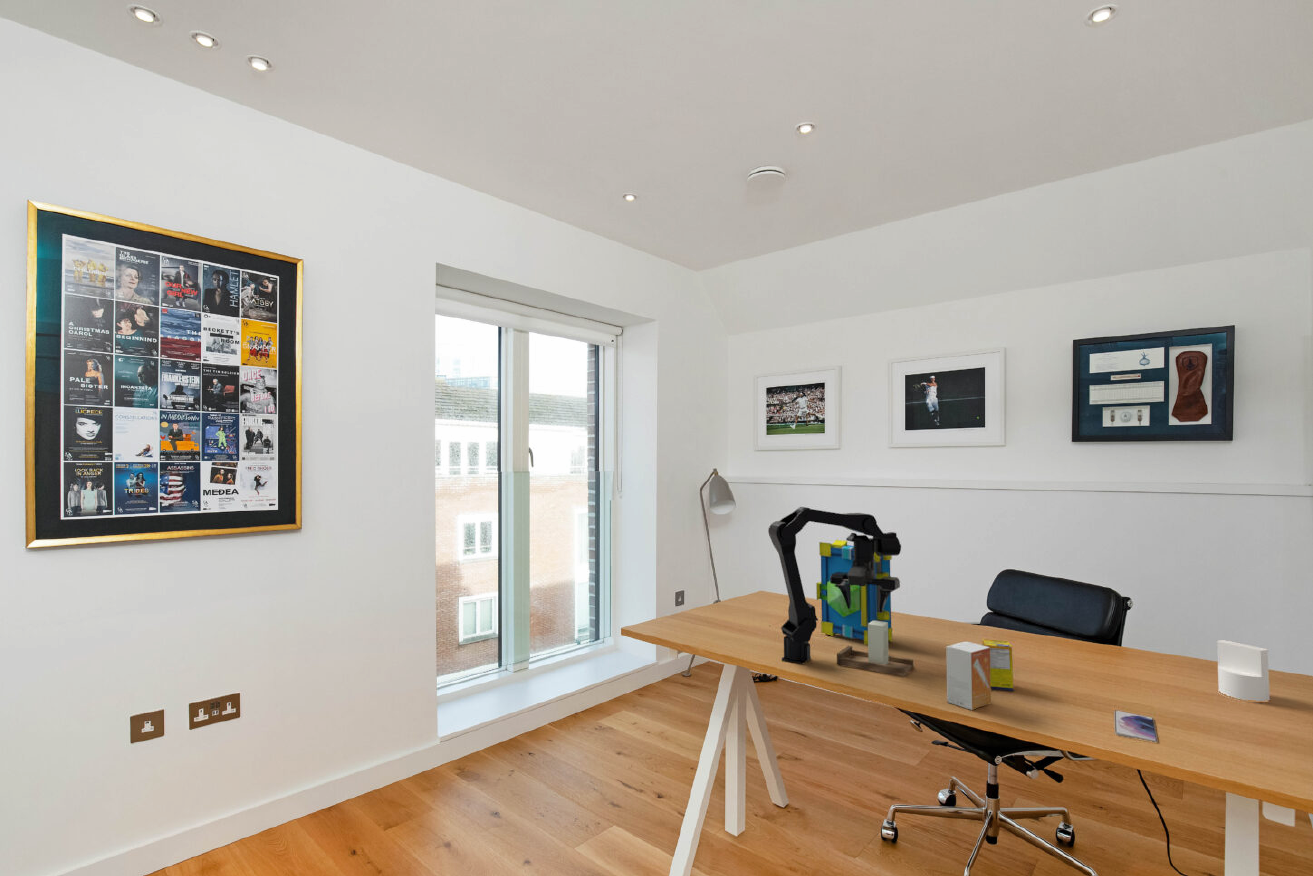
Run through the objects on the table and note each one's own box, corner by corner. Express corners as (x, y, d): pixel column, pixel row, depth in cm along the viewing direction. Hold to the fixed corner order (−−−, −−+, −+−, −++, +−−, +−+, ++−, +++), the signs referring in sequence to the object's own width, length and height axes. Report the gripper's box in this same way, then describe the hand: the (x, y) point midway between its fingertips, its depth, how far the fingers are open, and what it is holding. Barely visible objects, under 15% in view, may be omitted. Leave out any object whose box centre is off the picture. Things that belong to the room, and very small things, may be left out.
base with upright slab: (1210, 692, 154) (1208, 642, 155) (1231, 687, 158) (1229, 638, 159) (1257, 705, 146) (1255, 652, 147) (1278, 699, 150) (1275, 648, 150)
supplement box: (1009, 684, 161) (1007, 640, 161) (1013, 692, 155) (1012, 646, 156) (982, 681, 163) (981, 638, 163) (986, 689, 157) (985, 644, 158)
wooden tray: (836, 664, 177) (836, 653, 177) (848, 656, 185) (848, 645, 185) (904, 677, 166) (904, 665, 166) (913, 667, 174) (913, 656, 174)
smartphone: (1153, 717, 139) (1158, 742, 126) (1153, 721, 139) (1158, 746, 126) (1113, 709, 143) (1114, 732, 130) (1113, 713, 143) (1114, 737, 130)
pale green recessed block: (868, 664, 174) (867, 624, 174) (873, 660, 178) (872, 620, 179) (883, 667, 172) (882, 626, 172) (888, 662, 176) (888, 622, 176)
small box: (972, 711, 143) (971, 652, 144) (946, 702, 149) (945, 645, 149) (992, 703, 148) (990, 646, 148) (966, 695, 153) (964, 640, 154)
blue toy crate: (838, 627, 217) (837, 539, 218) (902, 642, 199) (900, 545, 200) (813, 634, 208) (811, 542, 209) (877, 650, 190) (875, 549, 191)
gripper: (823, 557, 185) (823, 611, 184) (889, 562, 174) (890, 620, 173) (836, 552, 194) (837, 604, 193) (899, 557, 183) (900, 612, 183)
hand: (864, 610), depth 185 cm, fingers open, 9 cm apart
